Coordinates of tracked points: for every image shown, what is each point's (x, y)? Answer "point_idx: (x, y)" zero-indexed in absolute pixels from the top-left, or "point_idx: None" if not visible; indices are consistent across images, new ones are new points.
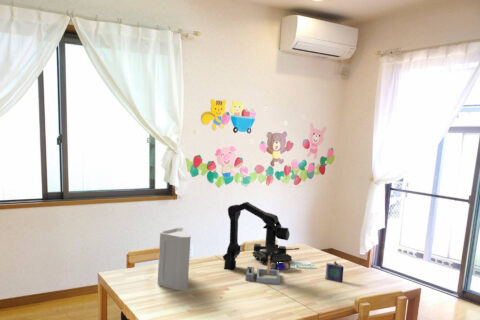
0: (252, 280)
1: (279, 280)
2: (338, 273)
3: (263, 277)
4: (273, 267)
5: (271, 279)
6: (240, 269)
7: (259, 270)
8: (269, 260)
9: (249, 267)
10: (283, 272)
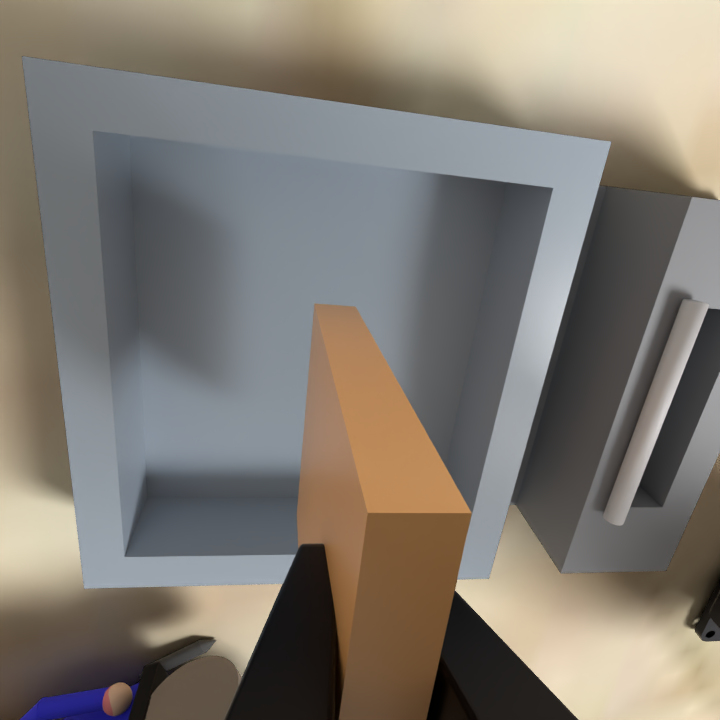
0: (624, 189)
1: (49, 62)
2: None
3: (460, 158)
4: (191, 680)
5: (268, 95)
6: (646, 585)
7: None
8: (397, 563)
9: (641, 549)
10: (31, 628)
